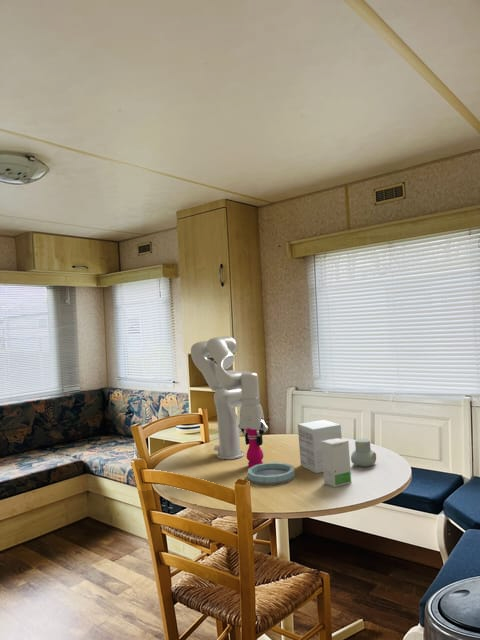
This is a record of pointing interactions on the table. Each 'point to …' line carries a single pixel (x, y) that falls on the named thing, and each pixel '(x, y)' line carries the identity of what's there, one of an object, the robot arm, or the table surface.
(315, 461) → the supplement box
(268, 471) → the round tray
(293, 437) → the table surface
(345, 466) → the skincare box
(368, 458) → the air freshener
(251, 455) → the pepper mill
